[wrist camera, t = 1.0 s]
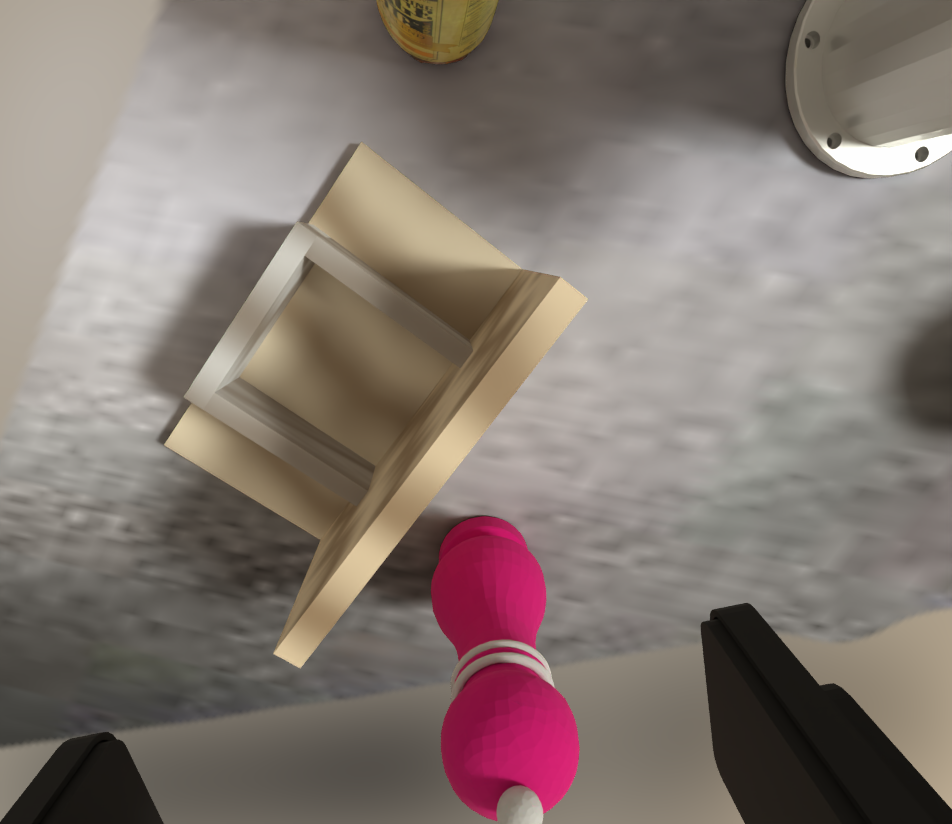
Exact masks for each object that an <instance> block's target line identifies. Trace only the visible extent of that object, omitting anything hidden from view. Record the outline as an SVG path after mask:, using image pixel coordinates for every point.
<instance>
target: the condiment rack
mask: <svg viewBox="0 0 952 824" xmlns="http://www.w3.org/2000/svg"><path fill="white" fill-rule="evenodd" d="M587 300H588V299H587V298H586V297H585V296H584V295H582V294H581V293H580V292H579V291H577V290H576V289H575V288H574V287H572V286H571V285H570V284H569V283H567V282H566V281H565V280H564V279H562V278H561V277H558V276H553V275H548V274H543V273H538V272H533V271H528V270H523V269H521V268H520V267H519V266H518V265H516V264H515V263H514V262H513V261H511V260H510V259H509V258H508V257H506V256H505V255H504V254H502V253H501V252H500V251H499V250H497V249H496V248H495V247H494V246H492V245H491V244H490V243H489V242H487V241H486V240H485V239H484V238H482V237H481V236H480V235H478V234H477V233H476V232H475V231H473V230H472V229H471V228H470V227H468V226H467V225H466V224H465V223H463V222H462V221H461V220H460V219H458V218H457V217H456V216H455V215H453V214H452V213H451V212H449V211H448V210H447V209H446V208H444V207H443V206H442V205H441V204H439V203H438V202H437V201H436V200H434V199H433V198H432V197H431V196H429V195H428V194H427V193H425V192H424V191H423V190H422V189H420V188H419V187H418V186H417V185H415V184H414V183H413V182H412V181H410V180H409V179H408V178H407V177H405V176H404V175H403V174H401V173H400V172H399V171H398V170H396V169H395V168H394V167H393V166H391V165H390V164H389V163H388V162H386V161H385V160H384V159H383V158H381V157H380V156H379V155H378V154H376V153H375V152H374V151H372V150H371V149H370V148H369V147H367V146H366V145H365V144H364V143H362V142H361V143H360V145H359V146H358V148H357V149H356V151H355V152H354V154H353V156H352V157H351V159H350V160H349V162H348V163H347V165H346V166H345V168H344V169H343V171H342V172H341V174H340V175H339V177H338V179H337V180H336V182H335V183H334V185H333V186H332V188H331V189H330V191H329V192H328V194H327V195H326V197H325V199H324V200H323V202H322V203H321V205H320V206H319V208H318V209H317V211H316V212H315V214H314V215H313V217H312V218H311V220H310V222H309V223H308V224H307V223H303V222H298V221H297V222H296V224H295V225H294V227H293V228H292V230H291V231H290V233H289V235H288V236H287V238H286V239H285V241H284V242H283V244H282V245H281V247H280V248H279V250H278V252H277V253H276V255H275V256H274V258H273V259H272V261H271V262H270V264H269V265H268V267H267V269H266V270H265V272H264V273H263V275H262V276H261V278H260V279H259V281H258V282H257V284H256V286H255V287H254V289H253V290H252V292H251V293H250V295H249V296H248V298H247V300H246V301H245V303H244V304H243V306H242V307H241V309H240V310H239V312H238V313H237V315H236V317H235V318H234V320H233V321H232V323H231V324H230V326H229V327H228V329H227V330H226V332H225V334H224V335H223V337H222V338H221V340H220V341H219V343H218V344H217V346H216V347H215V349H214V351H213V352H212V354H211V355H210V357H209V358H208V360H207V361H206V363H205V364H204V366H203V368H202V369H201V371H200V372H199V374H198V375H197V377H196V378H195V380H194V381H193V383H192V385H191V386H190V388H189V389H188V391H187V392H186V394H185V395H184V398H185V399H187V400H189V401H190V402H192V403H191V404H190V406H189V407H188V409H187V410H186V412H185V414H184V415H183V417H182V418H181V420H180V421H179V423H178V424H177V426H176V427H175V429H174V430H173V432H172V433H171V435H170V437H169V438H168V440H167V441H166V443H165V444H164V445H165V446H166V447H168V448H170V449H171V450H173V451H175V452H176V453H178V454H179V455H181V456H183V457H184V458H186V459H188V460H189V461H191V462H193V463H194V464H196V465H198V466H199V467H201V468H203V469H204V470H206V471H207V472H209V473H211V474H212V475H214V476H216V477H217V478H219V479H221V480H222V481H224V482H226V483H227V484H229V485H231V486H232V487H234V488H236V489H237V490H239V491H240V492H242V493H244V494H245V495H247V496H249V497H250V498H252V499H254V500H255V501H257V502H259V503H260V504H262V505H264V506H265V507H267V508H269V509H270V510H272V511H273V512H275V513H277V514H278V515H280V516H282V517H283V518H285V519H287V520H288V521H290V522H292V523H293V524H295V525H297V526H298V527H300V528H301V529H303V530H305V531H306V532H308V533H310V534H311V535H313V536H315V537H316V538H318V539H320V543H319V545H318V547H317V550H316V552H315V555H314V557H313V559H312V562H311V564H310V567H309V569H308V571H307V574H306V576H305V579H304V581H303V584H302V586H301V588H300V591H299V593H298V596H297V598H296V600H295V603H294V605H293V608H292V610H291V612H290V615H289V617H288V620H287V622H286V624H285V627H284V629H283V632H282V634H281V636H280V639H279V641H278V644H277V646H276V648H275V651H274V653H273V654H275V655H277V656H279V657H280V658H282V659H284V660H286V661H288V662H290V663H291V664H293V665H295V666H297V667H299V668H301V667H302V665H303V664H304V663H305V662H306V660H307V659H308V658H309V656H310V655H311V654H312V653H313V651H314V650H315V649H316V647H317V646H318V645H319V644H320V642H321V641H322V640H323V639H324V637H325V636H326V635H327V633H328V632H329V631H330V630H331V628H332V627H333V626H334V624H335V623H336V622H337V621H338V619H339V618H340V617H341V615H342V614H343V613H344V612H345V610H346V609H347V608H348V606H349V605H350V604H351V603H352V601H353V600H354V599H355V597H356V596H357V595H358V594H359V592H360V591H361V590H362V589H363V587H364V586H365V585H366V583H367V582H368V581H369V580H370V578H371V577H372V576H373V574H374V573H375V572H376V571H377V569H378V568H379V567H380V565H381V564H382V563H383V562H384V560H385V559H386V558H387V556H388V555H389V554H390V553H391V551H392V550H393V549H394V547H395V546H396V545H397V544H398V542H399V541H400V540H401V539H402V537H403V536H404V535H405V533H406V532H407V531H408V530H409V528H410V527H411V526H412V524H413V523H414V522H415V521H416V519H417V518H418V517H419V515H420V514H421V513H422V512H423V510H424V509H425V508H426V506H427V505H428V504H429V503H430V501H431V500H432V499H433V497H434V496H435V495H436V494H437V492H438V491H439V490H440V489H441V487H442V486H443V485H444V483H445V482H446V481H447V480H448V478H449V477H450V476H451V474H452V473H453V472H454V471H455V469H456V468H457V467H458V465H459V464H460V463H461V462H462V460H463V459H464V458H465V456H466V455H467V454H468V453H469V451H470V450H471V449H472V447H473V446H474V445H475V444H476V442H477V441H478V440H479V439H480V437H481V436H482V435H483V433H484V432H485V431H486V430H487V428H488V427H489V426H490V424H491V423H492V422H493V421H494V419H495V418H496V417H497V415H498V414H499V413H500V412H501V410H502V409H503V408H504V406H505V405H506V404H507V403H508V401H509V400H510V399H511V397H512V396H513V395H514V394H515V392H516V391H517V390H518V389H519V387H520V386H521V385H522V383H523V382H524V381H525V380H526V378H527V377H528V376H529V374H530V373H531V372H532V371H533V369H534V368H535V367H536V365H537V364H538V363H539V362H540V360H541V359H542V358H543V356H544V355H545V354H546V353H547V351H548V350H549V349H550V347H551V346H552V345H553V344H554V342H555V341H556V340H557V339H558V337H559V336H560V335H561V333H562V332H563V331H564V330H565V328H566V327H567V326H568V324H569V323H570V322H571V321H572V319H573V318H574V317H575V315H576V314H577V313H578V312H579V310H580V309H581V308H582V306H583V305H584V304H585V303H586V301H587Z"/></svg>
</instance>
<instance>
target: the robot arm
mask: <svg viewBox="0 0 952 824" xmlns="http://www.w3.org/2000/svg"><path fill="white" fill-rule="evenodd" d="M805 44H806V45H805ZM785 86H786V93H787V101H788V107H789V110H790V113H791V116H792V119H793V122H794V125H795V128H796V129H797V131H798V133H799V135H800V136H801V138H802V140H803V142H804V143H805V145H806V146H807V147H808V148H809V149H810V150H811V151H812V153H813V154H814V155H815V156H816V157H817V158H818V159H819V160H821V161H822V162H824V163H825V164H827V165H828V166H829V167H831V168H832V169H834V170H837V171H839V172H842V173H844V174H847V175H849V176H854V177H861V178H868V179H872V178H886V177H892V176H897V175H902V174H908V173H911V172H914V171H917V170H919V169H922V168H925V167H927V166H929V165H930V164H932V163H934V162H935V161H937V160H939V159H940V158H942V157H944V156H945V155H947V154H948V153H949V152H950V151H952V0H807V1H806V3H805V4H804V6H803V8H802V10H801V12H800V14H799V16H798V19H797V22H796V24H795V27H794V30H793V33H792V35H791V39H790V44H789V49H788V54H787V59H786V79H785ZM701 636H702V646H703V655H704V664H705V675H706V683H707V694H708V703H709V713H710V723H711V732H712V741H713V751H714V757H715V760H716V764H717V767H718V770H719V772H720V775H721V777H722V779H723V782H724V783H725V785H726V787H727V789H728V791H729V793H730V795H731V797H732V799H733V801H734V803H735V805H736V807H737V809H738V811H739V813H740V815H741V817H742V819H743V820H744V823H745V824H952V809H951V808H950V807H949V806H948V805H947V804H946V802H945V801H944V800H942V798H941V797H940V796H939V795H938V794H937V792H936V791H935V790H934V789H933V788H932V787H931V786H930V785H929V783H928V782H927V781H926V780H925V779H924V778H923V777H922V776H921V774H920V773H919V772H918V771H917V770H916V769H915V768H914V767H913V766H912V764H911V763H910V762H909V761H908V760H907V759H906V758H905V756H903V754H902V753H901V752H900V751H899V750H898V749H897V748H896V746H895V745H894V744H893V743H892V742H891V741H890V740H889V738H888V737H887V736H886V735H885V734H884V733H883V732H882V731H881V730H880V729H879V727H878V726H877V725H876V724H875V723H874V722H873V721H872V719H871V718H870V717H869V716H868V715H867V714H866V713H865V712H864V710H863V709H862V708H861V707H860V706H859V705H858V704H857V703H856V701H855V700H854V699H853V698H852V697H851V696H850V695H849V694H848V693H847V692H846V691H845V690H844V689H842V688H841V687H840V686H838V685H836V684H834V683H833V684H825V685H819V684H818V683H817V682H816V681H815V679H814V678H813V677H812V676H811V675H810V673H809V672H808V671H807V670H806V669H805V668H804V666H803V665H802V664H801V663H800V662H799V660H798V659H797V658H796V657H795V656H794V654H793V653H792V652H791V651H790V650H789V648H788V647H787V646H786V645H785V644H784V643H783V642H782V640H781V639H780V638H779V637H778V635H777V634H776V633H775V632H774V631H773V629H772V628H771V627H770V626H769V625H768V624H767V622H766V621H765V620H764V619H763V618H762V616H761V615H760V614H759V613H758V612H757V610H756V609H755V608H754V607H753V606H752V605H751V604H749V603H744V604H739V605H734V606H729V607H724V608H719V609H714V610H712V611H711V613H710V621H705V622H702V623H701ZM0 824H163V821H162V819H161V817H160V815H159V813H158V811H157V809H156V807H155V805H154V803H153V801H152V799H151V797H150V795H149V793H148V790H147V789H146V786H145V784H144V782H143V780H142V778H141V776H140V774H139V772H138V770H137V768H136V766H135V764H134V762H133V760H132V757H131V755H130V753H129V751H128V749H127V747H126V745H125V744H124V743H123V741H120V740H117V739H116V738H115V737H114V735H113V734H111V733H109V732H102V733H97V734H92V735H87V736H82V737H77V738H72V739H69V740H67V741H65V742H64V743H63V744H62V745H61V746H60V747H59V748H58V749H57V750H56V751H55V753H54V754H53V755H52V756H51V758H50V759H49V760H48V762H47V763H46V764H45V765H44V767H43V768H42V769H41V770H40V772H39V773H38V774H37V776H36V777H35V778H34V779H33V781H32V782H31V783H30V785H29V786H28V787H27V788H26V790H25V791H24V792H23V794H22V795H21V796H20V797H19V799H18V800H17V801H16V802H15V804H14V805H13V806H12V808H11V809H10V810H9V811H8V813H7V814H6V815H5V817H4V818H3V819H2V820H1V822H0Z"/></svg>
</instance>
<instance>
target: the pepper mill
mask: <svg viewBox="0 0 952 824" xmlns="http://www.w3.org/2000/svg"><path fill="white" fill-rule="evenodd" d="M431 597H432V605H433V612H434V614H435V617H436V619H437V622H438V624H439V626H440V628H441V630H442V631H443V633H444V634H445V635H446V636H447V638H448V639H449V640H450V641H451V642H452V643H453V645H454V646H455V648H456V650H457V654H458V659H459V662H458V664H457V665H456V667H455V669H454V671H453V674H452V678H451V692H452V696H451V705H450V707H449V709H448V711H447V714H446V716H445V718H444V722H443V726H442V732H441V752H442V759H443V764H444V769H445V773H446V775H447V777H448V779H449V782H450V783H451V786H452V788H453V790H454V791H455V793H456V794H457V795H458V797H459V798H460V799H461V801H462V802H464V803H465V804H466V805H467V806H468V807H469V808H470V809H472V810H473V811H475V812H477V813H479V814H480V815H482V816H484V817H486V818H489V819H492V820H495V821H498V823H499V824H542V821H543V814H544V813H545V812H547V811H548V810H550V809H551V808H553V806H555V805H556V804H557V803H558V802H559V801H560V800H561V799H562V798H563V796H564V795H565V794H566V792H567V791H568V789H569V787H570V786H571V784H572V781H573V779H574V777H575V774H576V771H577V765H578V760H579V741H578V732H577V726H576V723H575V719H574V716H573V714H572V711H571V709H570V707H569V705H568V703H567V702H566V700H565V698H563V696H562V695H561V694H560V693H559V692H558V691H557V690H556V689H555V687H554V683H553V680H552V676H551V671H550V668H549V666H548V663H547V662H546V660H545V659H544V657H543V656H542V655H541V654H540V653H539V652H538V651H537V650H536V645H535V641H536V634H537V631H538V629H539V626H540V624H541V622H542V619H543V616H544V612H545V605H546V587H545V582H544V577H543V573H542V570H541V568H540V565H539V564H538V562H537V560H536V559H535V557H534V556H533V555H532V554H531V553H530V552H529V551H528V549H527V545H526V543H525V540H524V538H523V537H522V535H521V533H520V532H519V531H518V530H517V529H516V528H515V527H514V526H512V525H511V524H510V523H508V522H506V521H504V520H502V519H499V518H495V517H488V516H481V517H476V518H471V519H468V520H465V521H463V522H461V523H459V524H458V525H456V526H455V527H454V528H453V529H452V530H451V531H450V532H449V533H448V534H447V535H446V537H445V538H444V540H443V542H442V544H441V548H440V552H439V564H438V565H437V567H436V570H435V572H434V575H433V579H432V583H431Z"/></svg>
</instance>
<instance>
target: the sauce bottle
mask: <svg viewBox="0 0 952 824" xmlns="http://www.w3.org/2000/svg"><path fill="white" fill-rule="evenodd" d="M376 1H377V6H378V10H379V13H380V16H381V18H382V21H383V23H384V25H385V27H386V29H387V30H388V32H389V34H390V35H391V37H392V38H393V39H394V40H395V41H396V43H397V44H398V45H399V46H400V47H401V48H402V49H403V50H404V51H405V52H407V53H408V54H409V55H411V56H412V57H413V58H414V59H416V60H417V61H419V62H421V63H424V62H425V63H431V64H444V63H445V64H448V63H453V62H457V61H460V60H462V59H463V58H465V57H466V56H467V55H468V54H469V53H470V52H471V51H472V50H474V49H475V47H477V46H478V45H479V44H480V43H481V42H482V40H483V39H484V37H485V35H486V33H487V32H488V30H489V27H490V25H491V23H492V20H493V17H494V14H495V10H496V7H497V4H498V1H499V0H376Z"/></svg>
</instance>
